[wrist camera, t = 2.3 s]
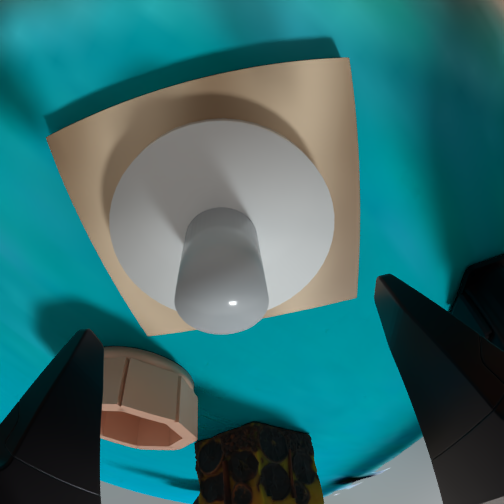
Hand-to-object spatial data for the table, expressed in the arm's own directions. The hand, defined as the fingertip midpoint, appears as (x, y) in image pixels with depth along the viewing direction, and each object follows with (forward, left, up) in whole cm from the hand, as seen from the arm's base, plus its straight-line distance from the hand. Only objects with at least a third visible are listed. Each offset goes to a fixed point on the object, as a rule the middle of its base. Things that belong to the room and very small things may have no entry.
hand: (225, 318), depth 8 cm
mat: (0, 0, -6) cm, 6 cm away
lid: (0, 0, -5) cm, 5 cm away
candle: (+4, +29, -6) cm, 30 cm away
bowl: (+10, +12, -6) cm, 17 cm away
